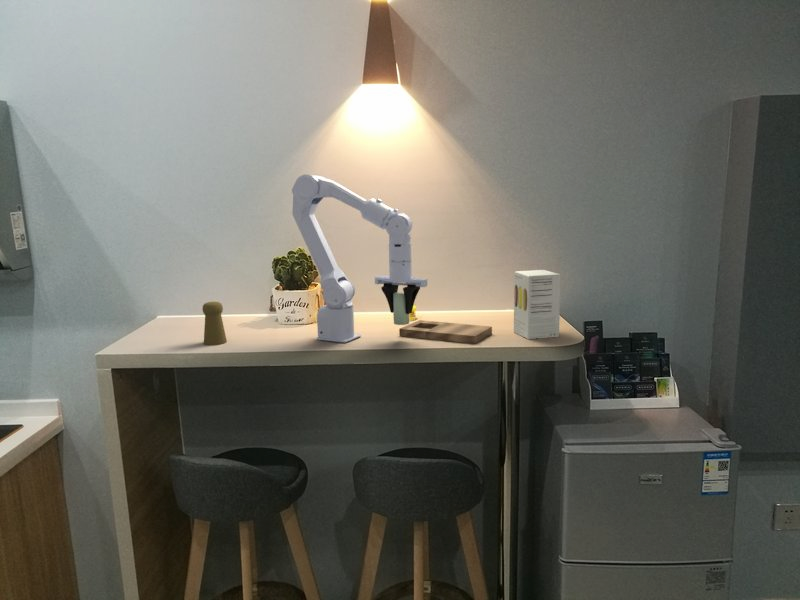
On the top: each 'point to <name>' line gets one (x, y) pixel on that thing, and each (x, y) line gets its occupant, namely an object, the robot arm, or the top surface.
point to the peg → (400, 309)
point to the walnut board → (446, 331)
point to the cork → (213, 324)
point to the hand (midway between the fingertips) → (401, 312)
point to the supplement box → (536, 303)
